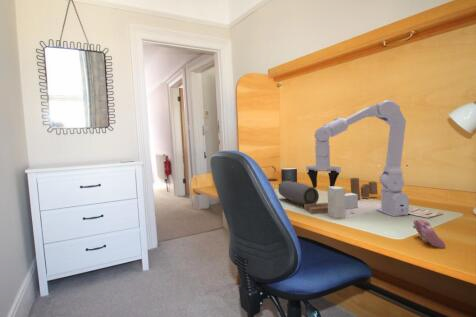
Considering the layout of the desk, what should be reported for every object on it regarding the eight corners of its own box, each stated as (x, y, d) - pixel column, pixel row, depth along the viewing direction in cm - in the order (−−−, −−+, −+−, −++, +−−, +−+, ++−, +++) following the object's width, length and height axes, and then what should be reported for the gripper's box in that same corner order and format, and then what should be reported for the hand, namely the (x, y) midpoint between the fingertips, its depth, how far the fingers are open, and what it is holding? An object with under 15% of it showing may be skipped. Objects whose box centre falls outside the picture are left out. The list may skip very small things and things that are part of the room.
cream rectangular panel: (364, 215, 105) (364, 214, 105) (345, 217, 104) (345, 215, 104) (355, 211, 111) (355, 210, 111) (337, 212, 110) (337, 211, 110)
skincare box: (345, 219, 101) (345, 188, 100) (335, 220, 101) (335, 189, 100) (337, 215, 107) (337, 185, 106) (327, 216, 107) (327, 186, 106)
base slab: (344, 212, 111) (344, 206, 110) (312, 215, 109) (311, 209, 108) (334, 207, 119) (334, 202, 118) (304, 210, 116) (304, 204, 116)
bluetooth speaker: (320, 207, 120) (319, 185, 120) (302, 209, 117) (302, 187, 117) (293, 197, 142) (292, 178, 141) (277, 199, 139) (277, 180, 138)
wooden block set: (374, 196, 137) (373, 176, 137) (381, 198, 129) (379, 177, 129) (337, 197, 139) (336, 177, 139) (342, 200, 131) (341, 179, 131)
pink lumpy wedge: (415, 239, 81) (408, 217, 81) (432, 236, 80) (425, 213, 80) (428, 253, 72) (420, 228, 72) (447, 249, 71) (439, 224, 71)
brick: (357, 208, 116) (357, 194, 116) (341, 210, 114) (341, 196, 114) (351, 206, 120) (351, 192, 120) (336, 207, 118) (336, 194, 118)
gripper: (343, 155, 110) (344, 188, 111) (311, 155, 120) (312, 185, 121) (336, 157, 105) (336, 191, 106) (303, 156, 115) (304, 187, 116)
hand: (323, 188), depth 113 cm, fingers open, 7 cm apart
